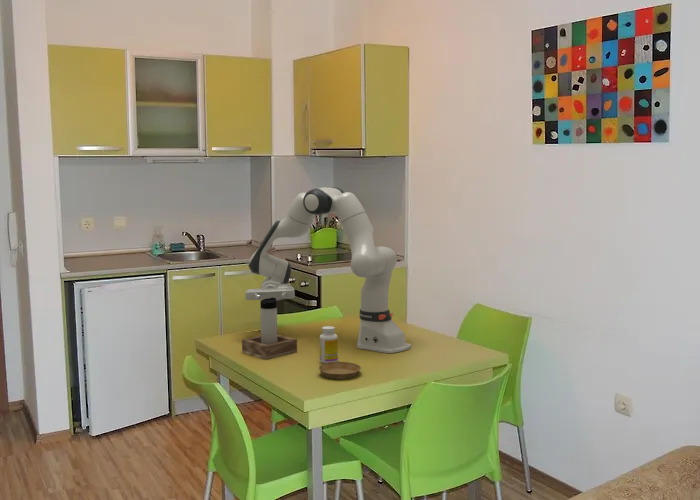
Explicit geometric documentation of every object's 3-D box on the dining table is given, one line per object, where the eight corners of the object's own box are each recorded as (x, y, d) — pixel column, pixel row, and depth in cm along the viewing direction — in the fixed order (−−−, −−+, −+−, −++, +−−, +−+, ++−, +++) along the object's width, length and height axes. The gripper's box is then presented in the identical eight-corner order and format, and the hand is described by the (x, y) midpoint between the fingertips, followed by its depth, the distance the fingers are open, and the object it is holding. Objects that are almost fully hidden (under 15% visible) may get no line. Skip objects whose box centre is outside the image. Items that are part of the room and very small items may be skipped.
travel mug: (281, 348, 279) (280, 298, 277) (270, 352, 274) (269, 301, 271) (269, 346, 283) (268, 296, 280) (257, 350, 277) (256, 299, 275)
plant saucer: (357, 367, 258) (357, 360, 258) (364, 380, 243) (364, 372, 243) (316, 369, 256) (316, 362, 256) (320, 382, 241) (320, 374, 241)
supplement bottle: (341, 361, 265) (341, 327, 264) (329, 365, 260) (328, 330, 259) (328, 358, 270) (328, 324, 268) (316, 361, 265) (315, 327, 263)
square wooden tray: (297, 352, 278) (296, 339, 278) (266, 359, 268) (266, 346, 267) (272, 345, 289) (272, 333, 288) (242, 352, 278) (241, 339, 278)
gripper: (245, 285, 302) (243, 290, 289) (294, 283, 304) (294, 288, 290) (245, 299, 303) (244, 306, 289) (294, 297, 305) (295, 303, 291)
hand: (269, 297), depth 290 cm, fingers open, 8 cm apart
